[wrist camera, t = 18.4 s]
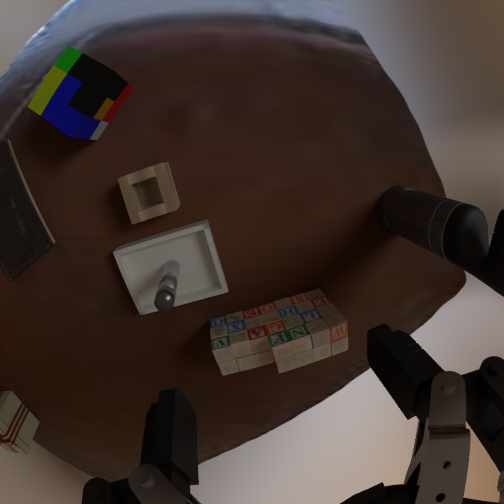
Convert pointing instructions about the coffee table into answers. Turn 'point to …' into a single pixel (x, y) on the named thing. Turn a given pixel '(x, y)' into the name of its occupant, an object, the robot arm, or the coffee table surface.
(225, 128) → the coffee table surface
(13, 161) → the hardcover book
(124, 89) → the puzzle toy
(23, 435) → the gift box
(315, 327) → the stack of blocks
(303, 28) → the coffee table surface
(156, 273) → the tray
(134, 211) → the maple bore block
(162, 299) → the cylinder
